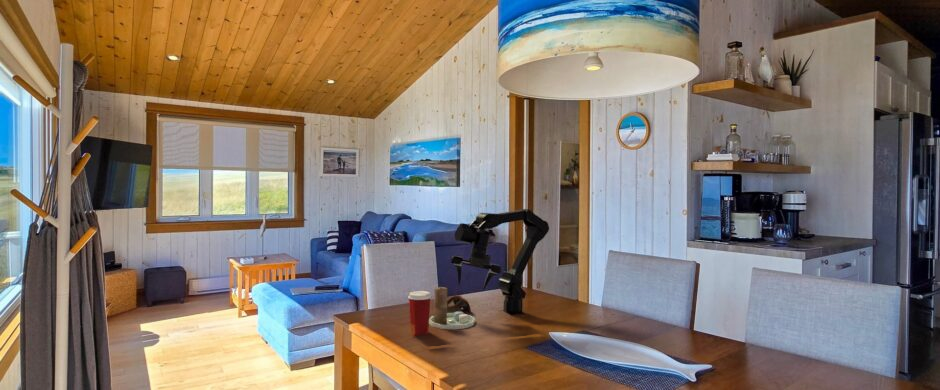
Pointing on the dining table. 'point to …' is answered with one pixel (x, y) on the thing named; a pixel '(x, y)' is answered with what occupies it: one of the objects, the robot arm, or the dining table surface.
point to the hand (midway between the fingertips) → (471, 287)
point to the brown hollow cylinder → (458, 304)
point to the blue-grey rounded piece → (457, 315)
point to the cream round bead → (463, 318)
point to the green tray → (452, 322)
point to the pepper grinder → (440, 305)
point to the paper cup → (419, 312)
